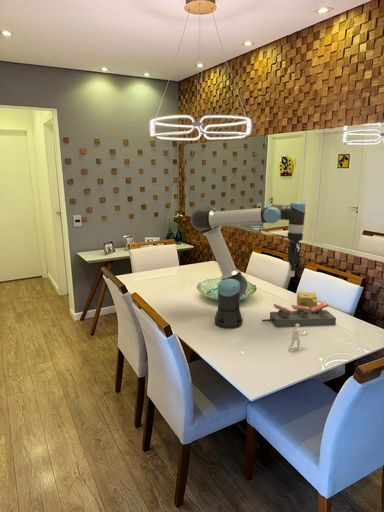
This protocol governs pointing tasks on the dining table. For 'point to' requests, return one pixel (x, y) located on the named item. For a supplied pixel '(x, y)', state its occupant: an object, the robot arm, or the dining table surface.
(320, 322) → the power strip
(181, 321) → the dining table surface
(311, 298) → the cheese
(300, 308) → the rocker
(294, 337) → the figurine
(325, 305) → the rocker
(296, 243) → the robot arm
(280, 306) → the rocker
